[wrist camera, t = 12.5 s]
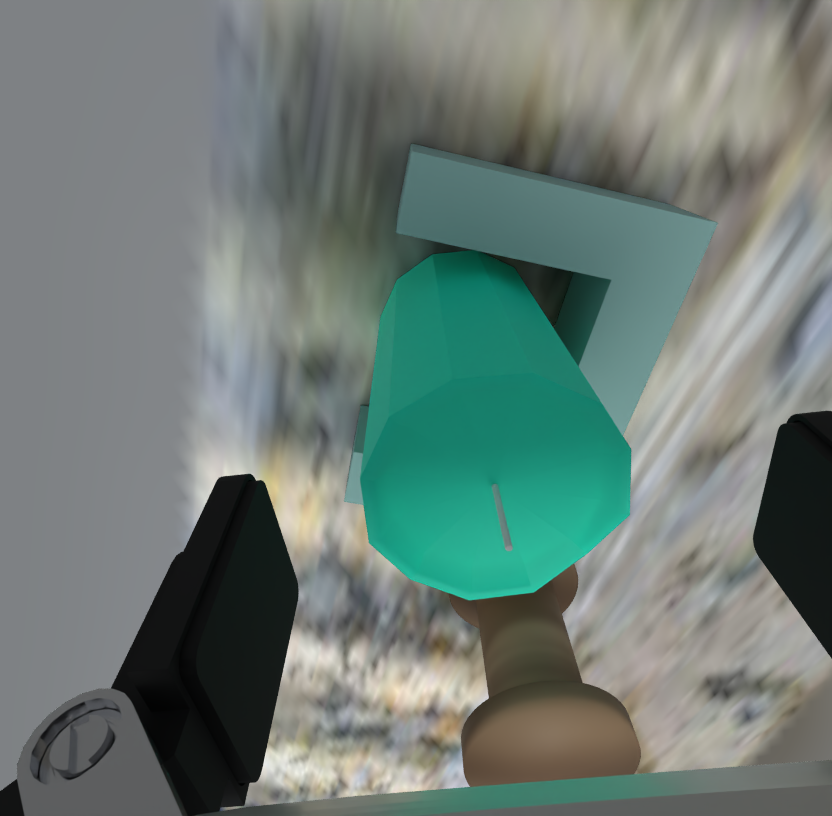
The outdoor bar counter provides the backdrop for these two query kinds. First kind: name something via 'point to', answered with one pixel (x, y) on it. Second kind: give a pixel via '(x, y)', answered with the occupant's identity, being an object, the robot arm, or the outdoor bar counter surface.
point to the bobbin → (539, 697)
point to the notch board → (563, 262)
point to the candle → (484, 436)
